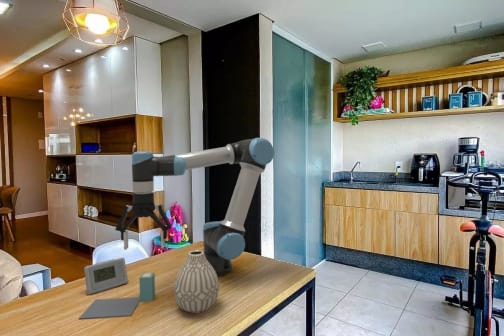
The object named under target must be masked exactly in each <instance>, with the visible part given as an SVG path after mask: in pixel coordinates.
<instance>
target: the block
mask: <svg viewBox="0 0 504 336" xmlns="http://www.w3.org/2000/svg"><path fill="white" fill-rule="evenodd" d="M155 273H156V272H144V273H142V274H141V275H140V277H139V279H138V281H139V297H140V302H139V303H141V302H152V301H154V299H155V296H156V285H155V284H156V281H155V280H156V277H155Z"/></svg>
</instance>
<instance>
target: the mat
mask: <svg viewBox="0 0 504 336" xmlns="http://www.w3.org/2000/svg"><path fill="white" fill-rule="evenodd" d="M139 303H141V302H140V296H138V297H137V296H136V297H119V298H118V297H117V298H102V299H100V298H99V299H97V298H96V299H94V300H93V302H92V303H91V304H90V305H89V306H88V307H87V308H86V309H85V311H84V312H83V313H82V314H81V315H80V316H79V317H78V320H91V319H106V318H107V319H108V318H110V319H111V318H120V317H121V318H123V317H124V318H125V317H132V315H133V314H134V312H135V310H136V308H137V307H138V305H139Z"/></svg>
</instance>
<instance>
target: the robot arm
mask: <svg viewBox="0 0 504 336" xmlns="http://www.w3.org/2000/svg"><path fill="white" fill-rule="evenodd" d="M274 150H275V149H274V147H273V145H272V143H271V142H270V140H268V139H266V138H264V137H263V138H262V137H255V138H251V139H250V138H249V139H243V140H240V141H237V142H233V143H228V144H226V146H223V147H217V148H215V147H214V148H211V149H210V148H209V149H204V150H197V151H192V152H190V151H189V152H184V153H178V154H177V153H176V154H173V155H172V154H170V155H166V156H163V155H162V156H154V153H153V151H134V152H133V153H132V154H131V156H132V157H131V173H132V174H131V176H132V177H131V178H132V192H133V194H132V205H128V204H127V205H125V206H124V207H123V213H122V214H121V216H120V218H119V221H118V223H117V224H116V226H115V231H118V232H120V240H121V241H123V250H124V251H125V250H128V248H129V231H128V230H127V229H128V228H129V226H130V225H131V224H132V223H133V222H134V221H135V220H136V218H149V217H150V218H151V219H152V220H153V221H154V222H155V224H156V225H158V227H159V228H160V229H161V231H160V241H161V242H160V249H164V248H165V243H166V242H165V240H167V238H168V230H171V229H172V227H173V225H172V223H171V221H170V220H169V218H168V215H167V214H166V212H165V210H164V206H163V204H162V203H160V204H157V205H155V193H154V191H155V189H154V188H155V187H154V186H155V182H154V181H155V180H154V177H171V176H172V177H173V176H174V177H177V176H183V175H184V174H185V172H186V171H188V170H194V169H195V170H196V169H200V168H206V167H212V166H217V165H223V164H227V163H228V164H229V165H234V164H239V166H240V167H241V169H240V172H239V174H238V176H237V177H238V178H237V181H236V185H235V187H234V190H233V193H232V196H231V199H230V202H229V206H228V208H227V211H226V214H225V218H224V219H223V220H220V221H210V222H205V223H204V224H203V226H202V227H203V229H202V232H203V233H202V235H203V238H202V239H203V240H202V241H203V252H204V254H205V257H206V259H207V261H208V262H209V263H210V264H211V265H212V267H213V268H214V270H215V272H216V274H217V277H221V276H225V275H228V274H230V273H231V272H232V271H233V262H232V260H236V259H238V258H239V257H240V256H241V255H242V254H243V252H244V250H245V248H246V241H245V238H244V236H245V233H246V229H245V227H244V224H245V221H246V219H247V215H248V212H249V208H250V206H251V202H252V200H253V198H254V197H253V196H254V194H255V190H256V187H257V183H258V181H259V177H260V175H261V174H262V173H264V172H265V170H266V167H267V165H268V164H270V163H271V162H272V161H273V159H274V158H275V156H274V155H275V151H274ZM131 210H132V212H133V214H132V216H131V217H130V218H129V220H127V222H126V223H125V224H124V222H125V221H126V218H127V217H128V214H129V212H131ZM155 210H156V211H158V213H159V215H160V217H161V218H162V220H163V221H162V220H161V219H160V217H158V215H157V214H156V213H155ZM123 224H124V226H123ZM122 226H123V227H122Z"/></svg>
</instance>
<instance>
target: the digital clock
mask: <svg viewBox="0 0 504 336" xmlns="http://www.w3.org/2000/svg"><path fill="white" fill-rule="evenodd" d="M83 269H84V270H83V271H84V279H85V280H84V281H85V286H86V287H85V288H86V293H87V295H92V294H96V293H101V292H104V291H108V290H110V289H114V288H118V287H120V286H122V285H125V284H127V283H128V281H129V277H128V273H127V272H128V271H127V266H126V260H125V258H124V257H119V258H113V259H109V260H105V261H101V262H98V263H97V262H96V263H94V264H89V265H86V266H85V267H84V268H83Z"/></svg>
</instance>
